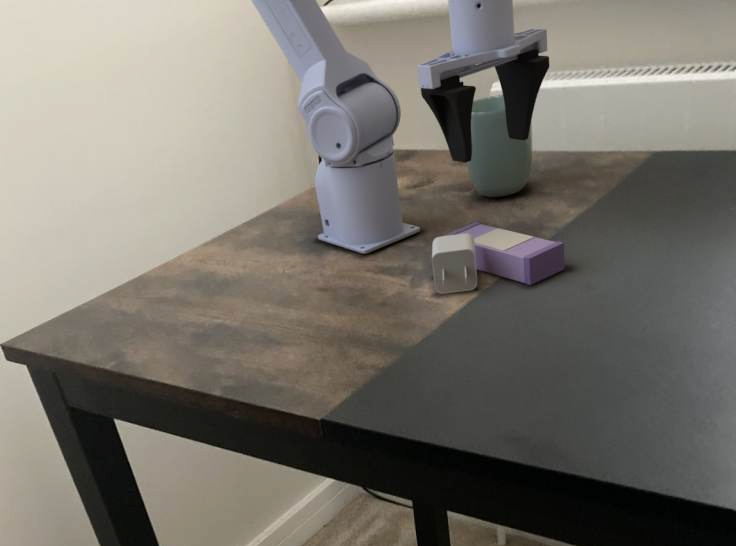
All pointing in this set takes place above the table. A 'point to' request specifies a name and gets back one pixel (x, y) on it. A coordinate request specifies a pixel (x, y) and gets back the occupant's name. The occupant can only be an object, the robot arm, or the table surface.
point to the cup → (497, 151)
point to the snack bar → (514, 253)
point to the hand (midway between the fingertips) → (490, 149)
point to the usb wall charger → (454, 263)
